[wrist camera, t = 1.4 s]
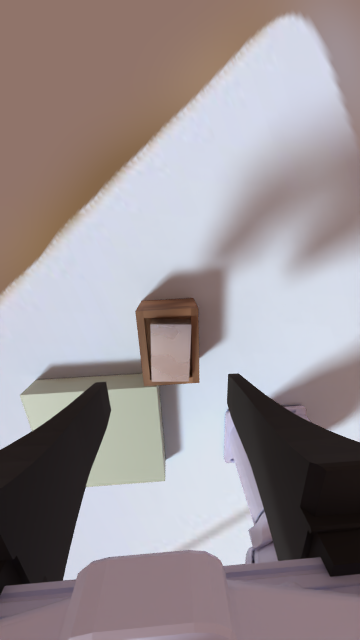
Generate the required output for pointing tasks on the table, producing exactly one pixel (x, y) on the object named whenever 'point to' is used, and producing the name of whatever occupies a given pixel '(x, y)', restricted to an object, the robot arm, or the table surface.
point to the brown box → (167, 311)
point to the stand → (110, 425)
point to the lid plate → (170, 349)
